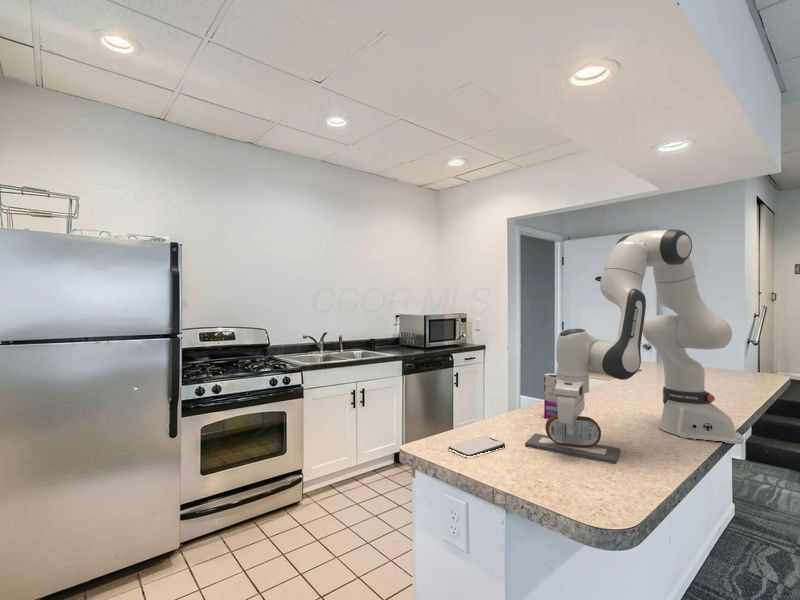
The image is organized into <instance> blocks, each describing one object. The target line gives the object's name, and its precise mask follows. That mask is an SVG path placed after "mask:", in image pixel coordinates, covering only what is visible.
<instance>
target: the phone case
mask: <svg viewBox="0 0 800 600" xmlns="http://www.w3.org/2000/svg"><path fill="white" fill-rule="evenodd" d="M503 447H506V444H505V442H504V441H500V440H497V439H494V438H491V437H489V436H480V437H476V438H474V439H473V438H472V439H469V440H467V441H463V442H459V443H457V444H452V445H450V446H448V450H449V449H451V450H454V451H456V452H458V453H460V454H463V455H466V456H473V455H477V454H480V453H485V452H488V451H493V450H496V449H499V448H503ZM503 449H504V448H503Z"/></svg>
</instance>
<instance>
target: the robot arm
mask: <svg viewBox="0 0 800 600" xmlns="http://www.w3.org/2000/svg"><path fill="white" fill-rule="evenodd" d="M692 250H693V241H692V239H691V237H690V236H689V233H686V232H685V230H682V229H675V228H674V229H672V228H671V229H670V228H669V229H667V230H665V229H663V230H662V229H661V230H656V229H655V230H648V231H645V232H638V233H635V234H633V233H631V234H627V235H623V236H622V237H620V239H618V241H617V242H616V244H615V246H614V248H613V249H612V251H611V253H610V255H609V257H608V259H607V260H606V264H605V266H604V268H603V272H602V275H601V278H600V282H599V291H600V292H601V294H602V295H603V297H604V298H605V299H607V301H609V302H611V303H612V304H614V305H616V306H617V307H619V310H620V321H619V327H618V332H617V338H616V339H615V340H614V341H607V340H602V339H599V338H596V337H594V336H592V335H591V334H590V333H588V332H587V331H586V329H583V328H570V329H566V330H563V331H561V332H560V333H559V334H558V336H557V341H556V351H555V352H556V359H555V360H556V362H557V368H556V373H555V374H556V386H555V394H557V412H558V419H559V422H560V423H564V424H566V427H567V434H570V435H573V434H574V421H575V420H576V419H577V417H578V416H581V414H582V412H583V411H584V410H585V402H586V401H585V394H587V393H589V392H590V374H589V373H590V371H591V372H595V373H597V374H601V375H606V376H609V377H612V378H614V379H617V380H621V381H623V380H629V379H630V378H632V377H633V376H634V375H636V374H637V372H638V371H639V370H640V366H641V363H642V355H641V344H642V338H643V337H644V339H645V341H647V343H649V344H650V345H652V347H654V348H655V350H656V351H657V352H658V354H659V356H660V359H661V360H662V364H663V372H664V374H663V375H664V386H663V389H662V403H663V409H662V413H661V414H662V415H661V420H660V422H659V425H658V428H659V429H660V430H662V431H664V432H666V433H669V434H672V435H675V436H677V437H679V436H680V438H682V439H687V438H691V439H690V440H696V439H704V440H703V441H705V440H715V441H723V442H725V444H733V445H741V444H742V445H743V444H744V442H745V439H744V436H743V435H742V434H741V433H740V432H738V431H736V428H735V424H734V421H733V419H732V418H731V417H730V416H729V415H728V414H727V413H726V412H724V411H723V410H721V408H719V407H718V406H716V405H714V404H713V402H714V401H716V397H715V396H714V395H713V394H711V393H710V392H709V391H707V390H705V374H706V373H705V368H704V367H703V365H702V364H701V363H700V362H698V361H697V360H695V359H693V358H691V357H690V356H689V354H688V353H687V351H686V349H695V350H704V351H706V350H707V351H709V350H718V349H724V348H726V347H727V346H728V345H729V344H730V343H731V340H732V338H733V330H732V327H731V325H730V323H729V322H728V321H727V320H726V319H724V318H722V317H720V316H718V315H717V314H715V313H714V312H713V311H712V310H710V309H709V308H708V306H707V305H706V304H705V303H704V301H703V300H702V298H701V295H700V292H699V288H698V285H697V280H696V275H695V269H694V266H693V262H692V260H691V257H690V255H691V253H692ZM647 267H652V270H653V272H652V273H653V278H654V283H655V289H656V294H657V298H658V302H659V303H660V304H661V305H662V306H664V307H665V308H667V309H670V310H672V311H673V312H674V313H675V314H659V315H654V316H649V317H648V318H647V319H645V316H646V309H647V300H646V296H645V293H644V292H643V289H642V288H643V287H642V286H643V282H644V278H645V275H646V270H647ZM642 336H643V337H642ZM692 438H693V439H692Z"/></svg>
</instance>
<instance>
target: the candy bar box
mask: <svg viewBox="0 0 800 600" xmlns="http://www.w3.org/2000/svg"><path fill="white" fill-rule="evenodd" d="M543 382H544V383H543V389H544V391H543V392H544V393H543V395H544V397H543V400H544V402H543V404H544V406H543V407H544V411H543V413H544V414H543V415H544V419H547V420H548V419H549V418H550V417H551V416H553V415H557V414H558V412H557V394H555V386H556V373H551V372H545V373H544V374H543Z"/></svg>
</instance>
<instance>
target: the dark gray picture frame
mask: <svg viewBox="0 0 800 600" xmlns="http://www.w3.org/2000/svg"><path fill="white" fill-rule="evenodd" d="M524 447H527V448H530V449H531V448H532V449H537V450H542V451H546V452H550V453H551V452H552V453H556V454H557V453H558V454H562V455H567V456H570V457H571V456H572V457H577V458H583V459H587V460H591V461H592V460H593V461H597V462H603V463H608V464H613V465H617V462H618V459H619V456H620V453H621V448H620V447H613V446H608V445H602V444H598V443H597V444H596V445H594V446H592V447H581V446H572V445H561V444H557V443H555V442H553V441H552V440H551V439H550V438H549V437H548V435H547V434H541V433H536V432H535V433H534V434H533V435H532V436H531V437H529V439H527V440H526V441H525V443H524Z"/></svg>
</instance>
